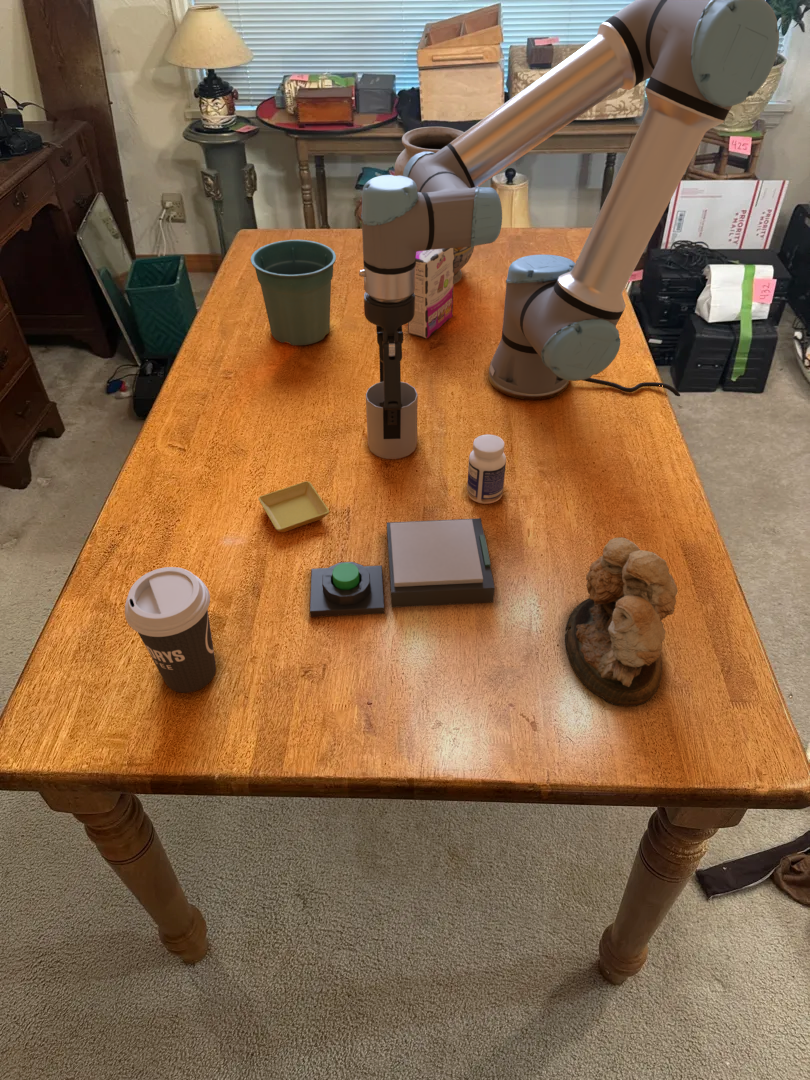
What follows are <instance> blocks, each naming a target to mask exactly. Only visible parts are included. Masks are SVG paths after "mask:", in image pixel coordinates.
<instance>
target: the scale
mask: <svg viewBox="0 0 810 1080" xmlns="http://www.w3.org/2000/svg"><path fill="white" fill-rule="evenodd" d="M386 544H387V561H388V576H389V589H390V590H389V591H390V592H389V593H390V606H391V608H406V607H407V608H408V607H409V608H410V607H427V606H449V605H467V604H468V605H469V604H470V605H471V604H487V603H488V604H489V603H491V604H492V603H494V597H495V591H496V590H495V589H496V587H495V582H494V577H493V572H492V567H491V566H492V563H491V559H490V554H489V547H488V543H487V538H486V535H485V532H484V527H483V522H482V518H480V517H478V518H475V517H474V518H457V519H456V518H454V519H433V520H411V521H390V522H386Z"/></svg>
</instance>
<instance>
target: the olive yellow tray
mask: <svg viewBox="0 0 810 1080" xmlns="http://www.w3.org/2000/svg"><path fill="white" fill-rule="evenodd" d="M258 501H259V503H260V504H261V506H262V508H263V510H264V511H265V513H266V514H267V516H268V518H269V520H270V521H271V524H272V526H273V527H274V529H275V530H276V531H277V532H280V533H286V532H289V531H291V530H294V529H297V528H300V527H303V526H306V525H308V524H311V523H314V522H316V521H319V520H322V519H323V518H325V517H327V515H328V514H330V510H329V508H328V506H327V505H326V503H325V502H324V500H323V499H322V498H321V496H320V494H319V493H318V491H317V490H316V489H315V487H314V486H313V484H312V483H311V481H307V480H305V481H301V482H299V483H296V484H293V485H290V486H287V487H284V488H281V489H277V490H275V491H271V492H269V493H266V494H263V495H259V497H258Z"/></svg>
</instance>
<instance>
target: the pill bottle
mask: <svg viewBox="0 0 810 1080" xmlns="http://www.w3.org/2000/svg"><path fill="white" fill-rule="evenodd" d="M504 451H505V441H504V440H503V439H502V437H500V436H498V435H495V434H491V433H490V434H487V433H486V434H481V435H479V436H477V437H475V438H474V440H473V443H472V450H471V451H470V453H469V456H468V469H467V470H468V471H467V484H466V485H467V486H466V492H467V495H468V497H469V498H470V499H471V500H472V501H474V502H476V503H478V504H484V505H485V504H486V505H488V504H493V503H496V502H497V501H498V502H499V500H500V499H501V498H502V496H503V494H504V487H505V478H506V477H505V476H506V468H507V467H506V466H507V456H506V454H505V452H504Z"/></svg>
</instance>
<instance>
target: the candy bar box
mask: <svg viewBox="0 0 810 1080" xmlns="http://www.w3.org/2000/svg"><path fill="white" fill-rule="evenodd" d="M453 278H454V248H446V249H434V250H426V251H417V252H416V288H415V292H414V294H415V315H414V317H413V319H412V320H411V321H410V322H409V323H407V333H408V334H410V335H412V336H417V337H419V338H424V339H428V338H430V337H431V336H432V335H433V334H434V333H436V331H437V330H439V329H440V328H442V326H443V325H445V324H446V323H447V322H448V321H449V320H450V319H452V318H453V316H454V315H453V313H454V311H453V310H454V284H453Z"/></svg>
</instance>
